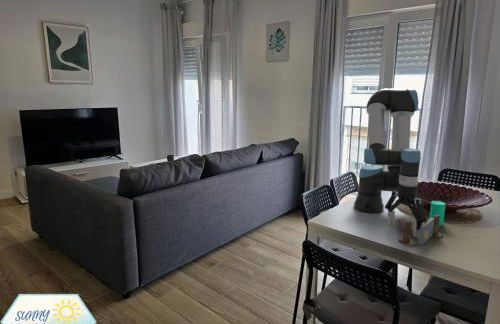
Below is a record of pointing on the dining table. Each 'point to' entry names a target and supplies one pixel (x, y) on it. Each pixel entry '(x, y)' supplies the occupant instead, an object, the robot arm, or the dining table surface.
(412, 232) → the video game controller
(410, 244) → the brown bent pieces
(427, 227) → the door
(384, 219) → the dining table surface
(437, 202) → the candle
